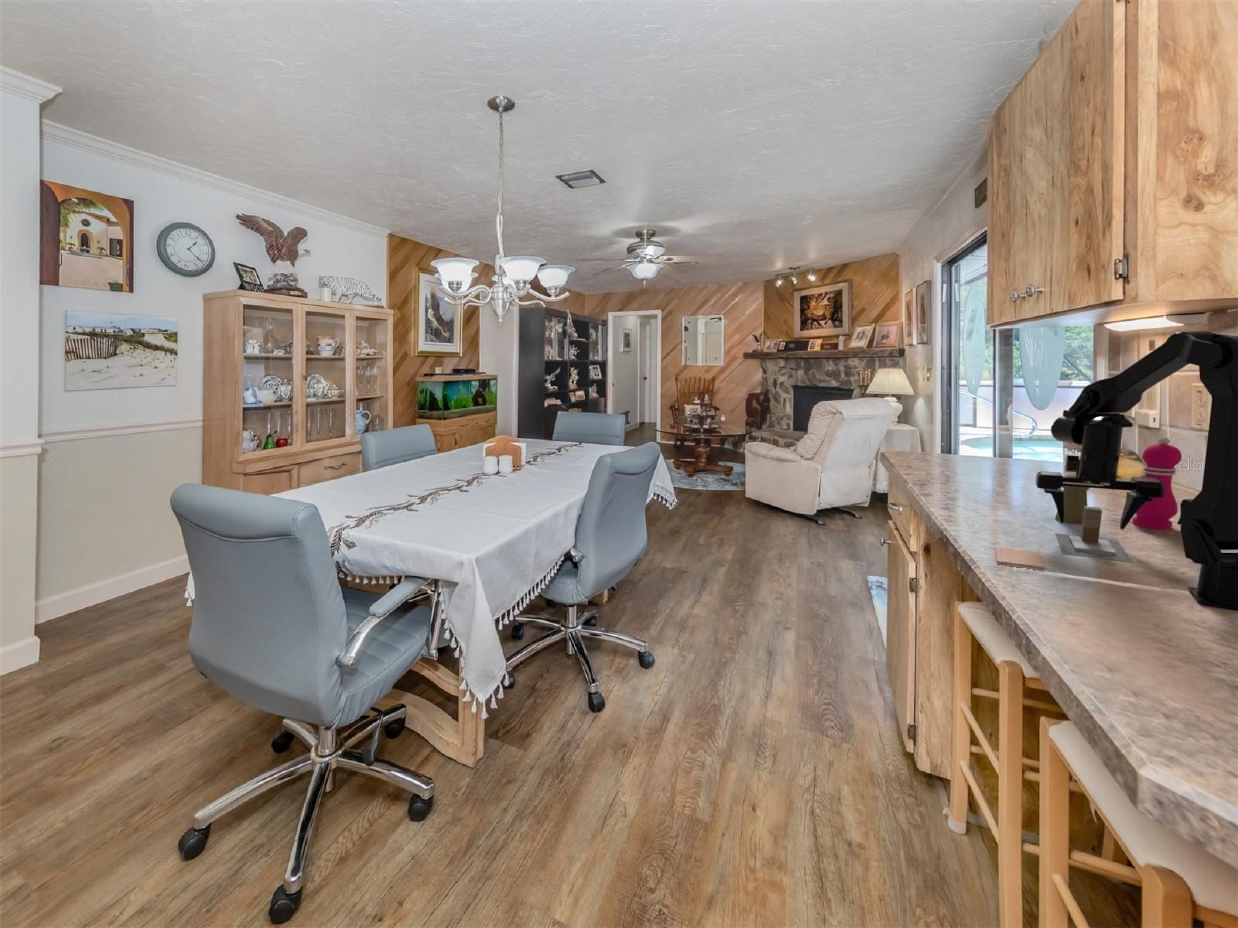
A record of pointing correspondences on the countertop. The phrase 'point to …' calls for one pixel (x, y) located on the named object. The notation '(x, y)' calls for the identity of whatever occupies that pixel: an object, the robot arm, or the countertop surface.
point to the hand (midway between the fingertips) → (1090, 525)
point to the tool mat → (1069, 550)
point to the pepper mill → (1162, 468)
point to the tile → (1019, 558)
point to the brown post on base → (1091, 534)
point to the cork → (1074, 503)
